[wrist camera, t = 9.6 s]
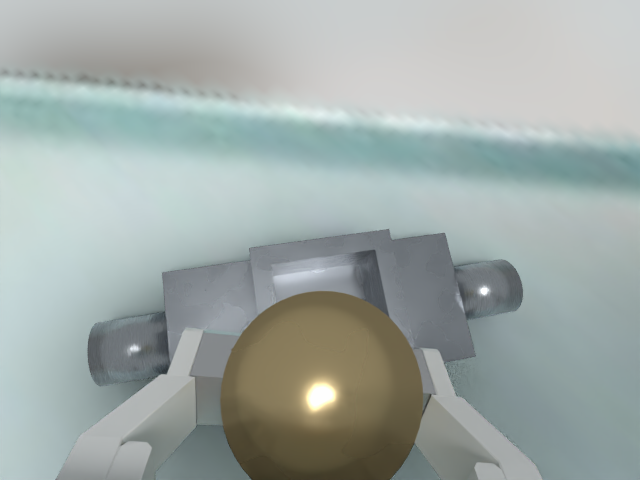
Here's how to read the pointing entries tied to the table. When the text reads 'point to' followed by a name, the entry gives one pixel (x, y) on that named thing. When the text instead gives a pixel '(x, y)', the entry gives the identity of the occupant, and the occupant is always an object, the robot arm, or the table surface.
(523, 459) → the robot arm
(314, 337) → the brass cylinder
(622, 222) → the table surface
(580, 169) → the table surface
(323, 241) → the manifold
